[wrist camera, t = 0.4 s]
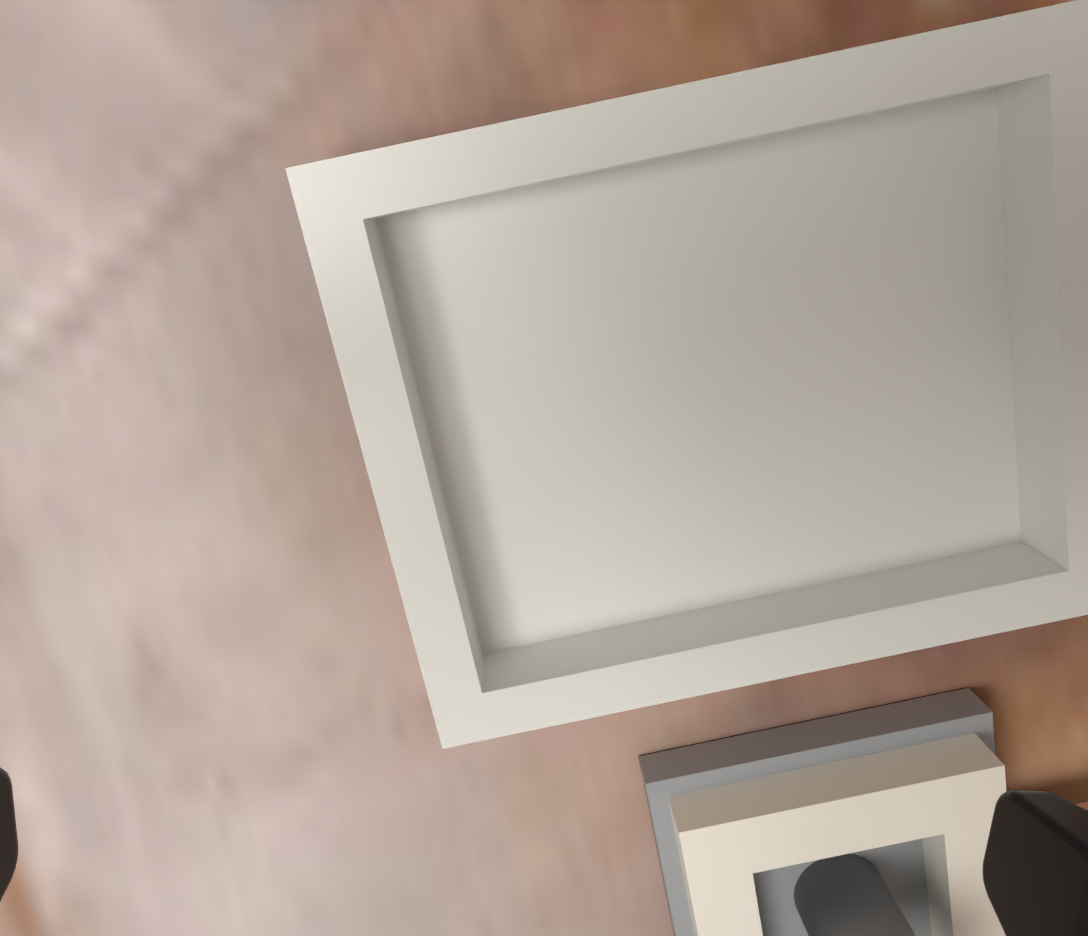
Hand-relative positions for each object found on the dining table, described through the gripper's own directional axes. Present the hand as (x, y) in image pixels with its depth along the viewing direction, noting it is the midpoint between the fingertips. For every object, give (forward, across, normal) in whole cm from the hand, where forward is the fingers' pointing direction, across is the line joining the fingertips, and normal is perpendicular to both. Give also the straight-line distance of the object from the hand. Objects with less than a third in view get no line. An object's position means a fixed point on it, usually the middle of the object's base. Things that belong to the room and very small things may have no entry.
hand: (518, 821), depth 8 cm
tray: (+14, -5, -2) cm, 15 cm away
